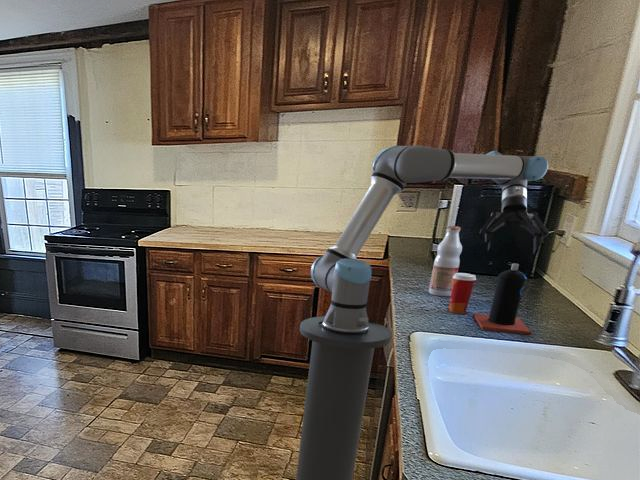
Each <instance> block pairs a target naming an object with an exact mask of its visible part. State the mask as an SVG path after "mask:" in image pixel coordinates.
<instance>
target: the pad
mask: <svg viewBox="0 0 640 480" xmlns="http://www.w3.org/2000/svg"><path fill="white" fill-rule="evenodd" d="M489 315H490V314H487V313H473V317H474V320H476V322H477V324H478V325H479V327H480V329H481V330H484V331H493V332H503V333H512V334H520V335H530V336H531V334H532V330H531V329H530V328H529V327H528V326H527V325H526V324H525V323H524V322H523V321H522V320H521V317H517V316H516V319H515V324H514V325H501V324H495V323H492V322H489V321H488V318H489Z"/></svg>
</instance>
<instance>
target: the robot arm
mask: <svg viewBox="0 0 640 480" xmlns="http://www.w3.org/2000/svg"><path fill="white" fill-rule="evenodd" d="M371 168H372V174H371V176H370V178H369V179H370V182H371V184H370V186H369V188H368V189H367V191H366V193H365V194H364V196H363V198H362V200H361V201H360V203H359V205H358V206H357V208H356V210H355V211H354V213H353V215H352V216H351V218H350V219H349V221H348V223H347V224H346V226H345V228H344V230H343V231H342V233H341V235H340V237H339V238H338V240H337V241H336V242H335V245H332V246H329V247H328V248H327V250H326V251H325V253H324V254H323V255H321V256H318V257H317V258H316V259H315V260H314V261H313V263H312V264H311V268H310V277H311V280H312V281H313V283H314V284H315V285H316V286H317V287H319V288H320V289H322V290H325V291H327V292H329V293H331V300H330V305H329V308H328V310H327V312H326V314H325V315H324V316H325V318H324V320H323V321H321V322H319V324H322V323H323V328H324V329H326V330H328V331H330V332H334V333H338V334H346V335H360V334H365V333H367V332H368V329H369V323H368V321H369V317H368V313H367V305H368V298H369V292H370V285H371V280H372V272H373V271H372V270H373V269H372V266H371V264H370V263H368V262H367V261H364V260H362V259H358V257H357V256H358V255H359V253H360V252H361V250H362V248H363V247H364V245H365V243H366V242H367V240H368V239H369V237H370V236H371V233H372V232H373V230H374V229H375V227H376V225H377V224H378V222H379V221H380V219H381V218H382V216H383V214H384V212H385V211H386V209H387V208H388V206H389V204H390V203H391V201H392V199H393V198H394V197H395V195H398V194H401V193H402V192H403V190H404V188H405V187H406V185H407V184H416V183H425V182H444V181H446V180H448V179H449V178H450V179H477V180H478V179H479V180H480V179H481V180H492V181H493V182H494V183H496V185H498V186H500V187H501V210H500V211H501V212H500V211H498V210H496V209H493V210H492V212H491V214H490V217H489V218H488V219H487V221H485V223H484V224H483V226H481V228H480V230H479V235H483V237H484V242H485V243H486V244H487V252H488V253H491V252H492V249H493V245H494V233H495V231H497V230H498V229H500V228H501V227H503V226H504V225H505V224H506V225H508V226H512V225H513V226H520V227H521V228H523V229H525V231H527V232H528V233H529V234H530V235H532V236H533V237H534V238H533V239H532V241H533V242H532V243H533V244H532V245H533V247H532V248H533V249H532V255H533V256H536V255H537V254H538V252H539V250H540V247H541V245H542V244H543V239H546V238H547V236H548V234H549V232H550V231H549V230H548V228H547V227H546V225H545V224H544V223H543V222H542V220H541V218H540V217H539V212H538V211H533V212H532V213H528V181H529V182H530V181H538V180H540V179H542V178H544V176H545V175H546V174H547V171H548V168H549V161H548V159H547V158H546V157H544V156H541V155H540V156H538V155H509V154H508V155H507V154H502V153H501V152H499V151H497V150H492V151H489V152H488V153H486V154H485V153H484V154H483V153H464V152H463V153H461V152H459V153H458V152H453V150H452V149H447V148H446V149H445V148H437V147H431V146H425V145H393V146H392V145H391V146H389V147H386V148H384V149H382V150H381V151H380V152H379V153H378V154H377V155H376V156H375V159H374V160H373V162H372V166H371ZM498 217H499V218H500V220H497V222H495V223H494V224H493V225H492V223H493V222H494V220H496V219H498Z"/></svg>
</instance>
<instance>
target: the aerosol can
mask: <svg viewBox="0 0 640 480" xmlns="http://www.w3.org/2000/svg"><path fill="white" fill-rule="evenodd" d="M519 266H520V264H519V263H512V264H511V266H510V269H509V270H505V271H502V272H501V273H499V274H498V275H497V276H498V279H497V282H496V287H495V290H494V295H493V299H492V302H491V303H492V304H491V307H490V311H489V314H488V315H489V318H488V321H489V322H492V323H495V324H501V325H514V324H515V319H516V317H517V315H518V312H519V307H520V304H521V300H522V296H523V292H524V288H525V285H526V281H527V279H528V277H527V276H526V275H525V274H524V273H523V272H521V271H520V270H519Z"/></svg>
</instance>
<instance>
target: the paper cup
mask: <svg viewBox="0 0 640 480" xmlns="http://www.w3.org/2000/svg"><path fill="white" fill-rule="evenodd" d="M476 280H477V276H476V274H471V273H466V272H458V273H455V274H454V276H453V284H452V291H451V296H450V297H449V298H450V299H449V304H448V305H449V306H448V312H450V313H453V314H460V315H463V314H465V313H467V309H468V306H469V303H470V299H471V296H472V292H473V289H474V286H475V282H476Z"/></svg>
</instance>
